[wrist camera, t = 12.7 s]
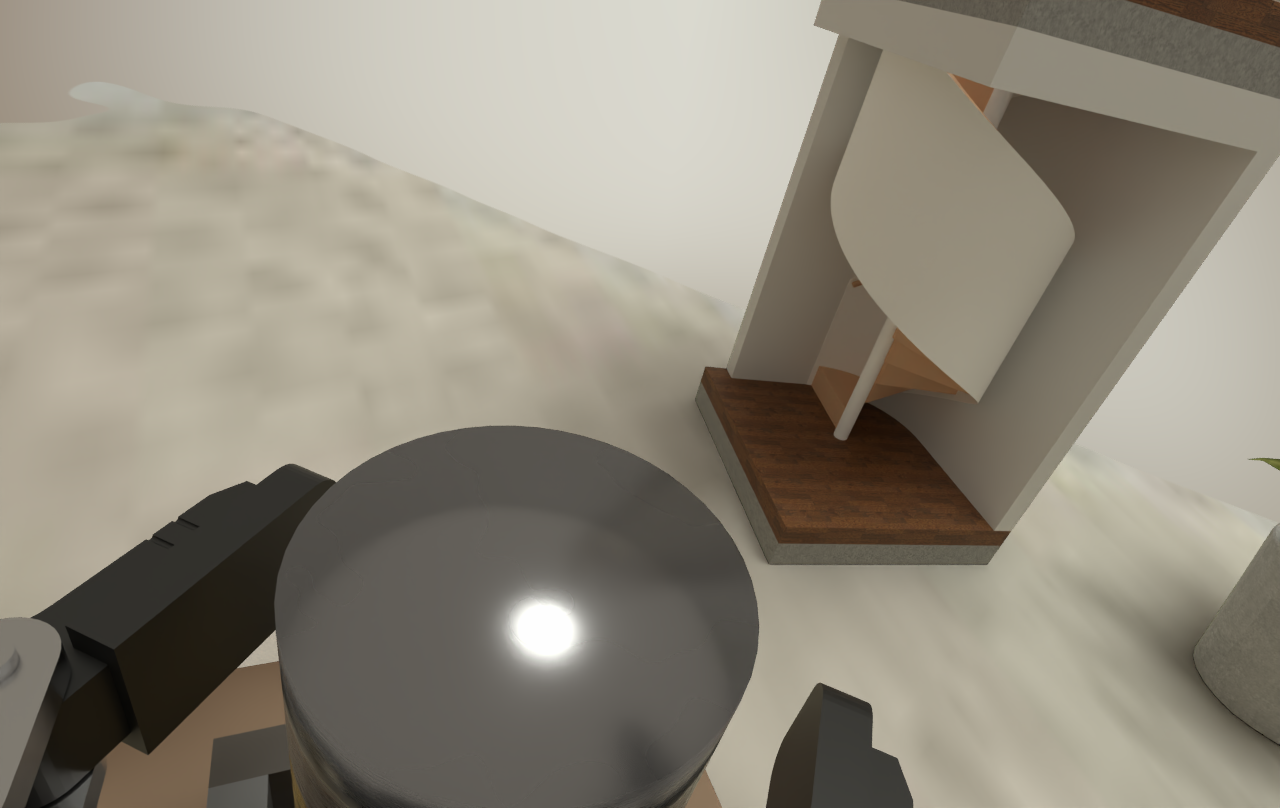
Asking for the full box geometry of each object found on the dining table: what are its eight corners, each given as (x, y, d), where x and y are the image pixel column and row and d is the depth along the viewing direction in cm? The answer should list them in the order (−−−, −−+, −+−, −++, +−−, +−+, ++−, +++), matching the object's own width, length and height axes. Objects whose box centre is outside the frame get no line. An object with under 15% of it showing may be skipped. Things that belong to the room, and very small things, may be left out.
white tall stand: (695, 399, 36) (1054, -737, 17) (868, 412, 39) (1337, -543, 20) (768, 564, 27) (1699, -1449, 8) (987, 564, 30) (2040, -910, 11)
